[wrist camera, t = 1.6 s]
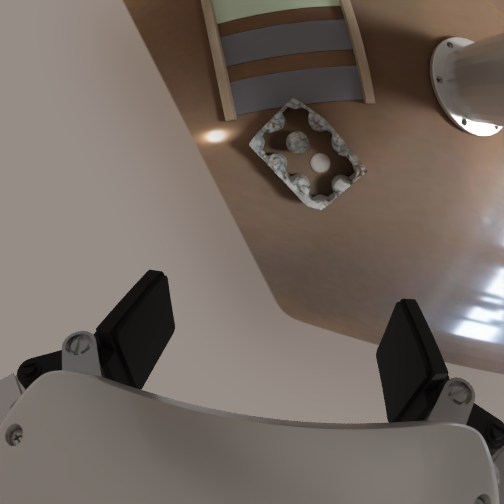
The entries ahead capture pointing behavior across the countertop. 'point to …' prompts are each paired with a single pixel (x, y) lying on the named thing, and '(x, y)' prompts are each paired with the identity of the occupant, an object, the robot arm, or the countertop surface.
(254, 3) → the pad
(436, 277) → the countertop surface
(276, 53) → the strips
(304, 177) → the egg carton
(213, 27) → the channel
